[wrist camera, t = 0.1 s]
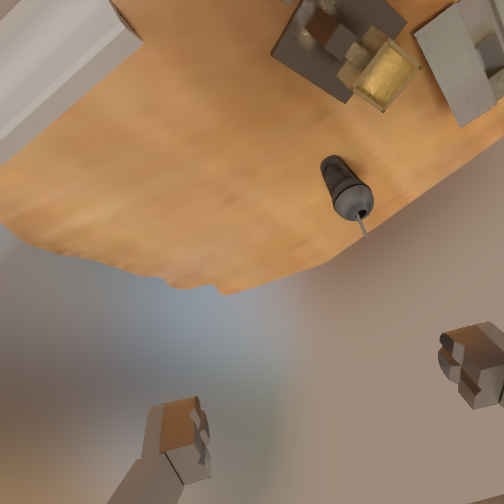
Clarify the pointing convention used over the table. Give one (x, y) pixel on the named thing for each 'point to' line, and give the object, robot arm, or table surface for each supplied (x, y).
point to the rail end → (287, 2)
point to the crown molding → (54, 62)
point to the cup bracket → (348, 49)
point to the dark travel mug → (347, 190)
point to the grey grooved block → (467, 56)
